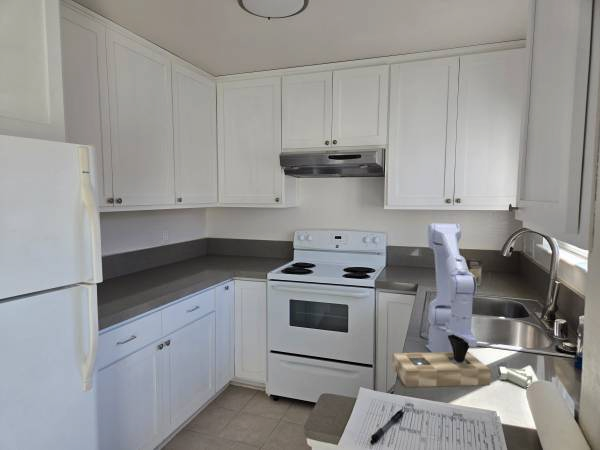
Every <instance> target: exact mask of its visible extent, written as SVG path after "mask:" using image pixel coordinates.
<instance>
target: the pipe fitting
mask: <svg viewBox="0 0 600 450" xmlns="http://www.w3.org/2000/svg"><path fill="white" fill-rule="evenodd" d="M497 377H498V379H499V380H502V381H503V380H504V381H509V382H511V383H513V384H514V385H515V384H516V385H517V386H519V387H521V388H523V389H524V390H525V389H528V388H527V386H528V385H529V384H530V383H533V373H532V371H531V369H521V368H513V367H505V366H498V367H497Z"/></svg>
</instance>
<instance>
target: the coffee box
mask: <svg viewBox="0 0 600 450" xmlns="http://www.w3.org/2000/svg"><path fill="white" fill-rule="evenodd" d="M465 261H466V264H467V267H468V270H469V272H470V273H472V275H474V276H475V279H476V283H477V285H482V284H481V283H482V267H483V265H482V263H483V260H481V259H478V258H465Z"/></svg>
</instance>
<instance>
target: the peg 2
mask: <svg viewBox="0 0 600 450" xmlns="http://www.w3.org/2000/svg"><path fill="white" fill-rule="evenodd" d="M451 361H452V362H453V363H454V364H467V361H466V360H464V362H457V361H455V359H454V358H452V359H451Z"/></svg>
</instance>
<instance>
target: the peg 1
mask: <svg viewBox="0 0 600 450" xmlns="http://www.w3.org/2000/svg"><path fill="white" fill-rule="evenodd" d="M412 363H413V364H414V365H427V361H425V360H423V359H418V358H416V359H413V360H412Z"/></svg>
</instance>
